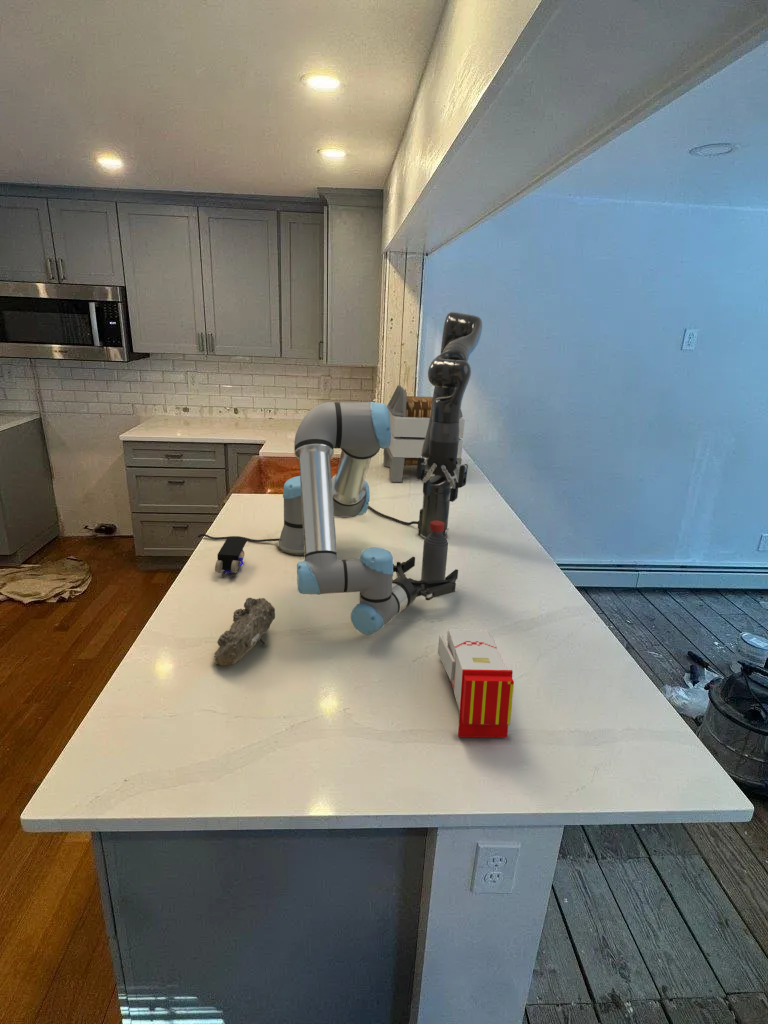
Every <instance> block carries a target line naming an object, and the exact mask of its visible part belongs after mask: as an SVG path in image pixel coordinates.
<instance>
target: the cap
mask: <svg viewBox="0 0 768 1024" xmlns="http://www.w3.org/2000/svg"><path fill="white" fill-rule="evenodd" d="M430 530H431V531H433V532H443V531H444V522H442V521H431V523H430Z"/></svg>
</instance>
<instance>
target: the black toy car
mask: <svg viewBox="0 0 768 1024" xmlns="http://www.w3.org/2000/svg"><path fill="white" fill-rule="evenodd" d="M247 542H248V540H247V539H241V538H227V539H225V541H224V543H223V544H222V546H221V547H220V549H219V551H218V552H217V560H216V562H215V564H214V572H215V573H221V577H222V578H224V577H225V576H226V574H227V573H230V574H231V573H232V574H231V578H234V577H235V575H236V573H237V572H239V571H240V567H242V566H243V565H244V564H245V562H244V558H245V551H244V547H245V546H246V544H247Z"/></svg>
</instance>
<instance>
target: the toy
mask: <svg viewBox="0 0 768 1024" xmlns="http://www.w3.org/2000/svg"><path fill="white" fill-rule="evenodd" d="M446 640H447V643H446V641H445V639H444V636H443V635H442V634H439V637H438V646H437V656H438V657H439V659H440V661H441V663H442V666H443V668H444V670H445V672H446V674H447V677H448V679H449V681H450V684H451V687H452V690H453V693H454V697H455V701H456V705H457V708H458V711H459V714H458V715H459V716H458V730H457V731H458V732H457V737H458V738H508V731H509V726H510V725H511V717H512V707H513V697H514V696H513V695H514V684H515V680H514V679H513V673H514V671H513V670H512V669H508V667H507V665H506V662H505V661H504V659H503V658H502V655H501V653H500V651H499V649H498V647H497V643H496V639H495V637H494V635H493V634H491V632H490V631H489V629H467V628H466V629H465V628H463V629H461V628H460V629H459V628H448V630H447V639H446Z"/></svg>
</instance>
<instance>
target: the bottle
mask: <svg viewBox="0 0 768 1024" xmlns="http://www.w3.org/2000/svg"><path fill="white" fill-rule="evenodd" d="M448 549H449V542H448V539H447V538H445V537H444V535H443V534H442V533H441V532H433V531H432V532H431V534H429V535H428V536H427V537H426V538H425V539H424V540H423V547H422V561H421V562H422V564H421V574H420V575H421V576H420V581H422V580H425V581H426V582H428V581H437V580H445V578H446V573H447V572H446V571H447V561H448ZM421 586H422V590H423V584H421Z"/></svg>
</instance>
